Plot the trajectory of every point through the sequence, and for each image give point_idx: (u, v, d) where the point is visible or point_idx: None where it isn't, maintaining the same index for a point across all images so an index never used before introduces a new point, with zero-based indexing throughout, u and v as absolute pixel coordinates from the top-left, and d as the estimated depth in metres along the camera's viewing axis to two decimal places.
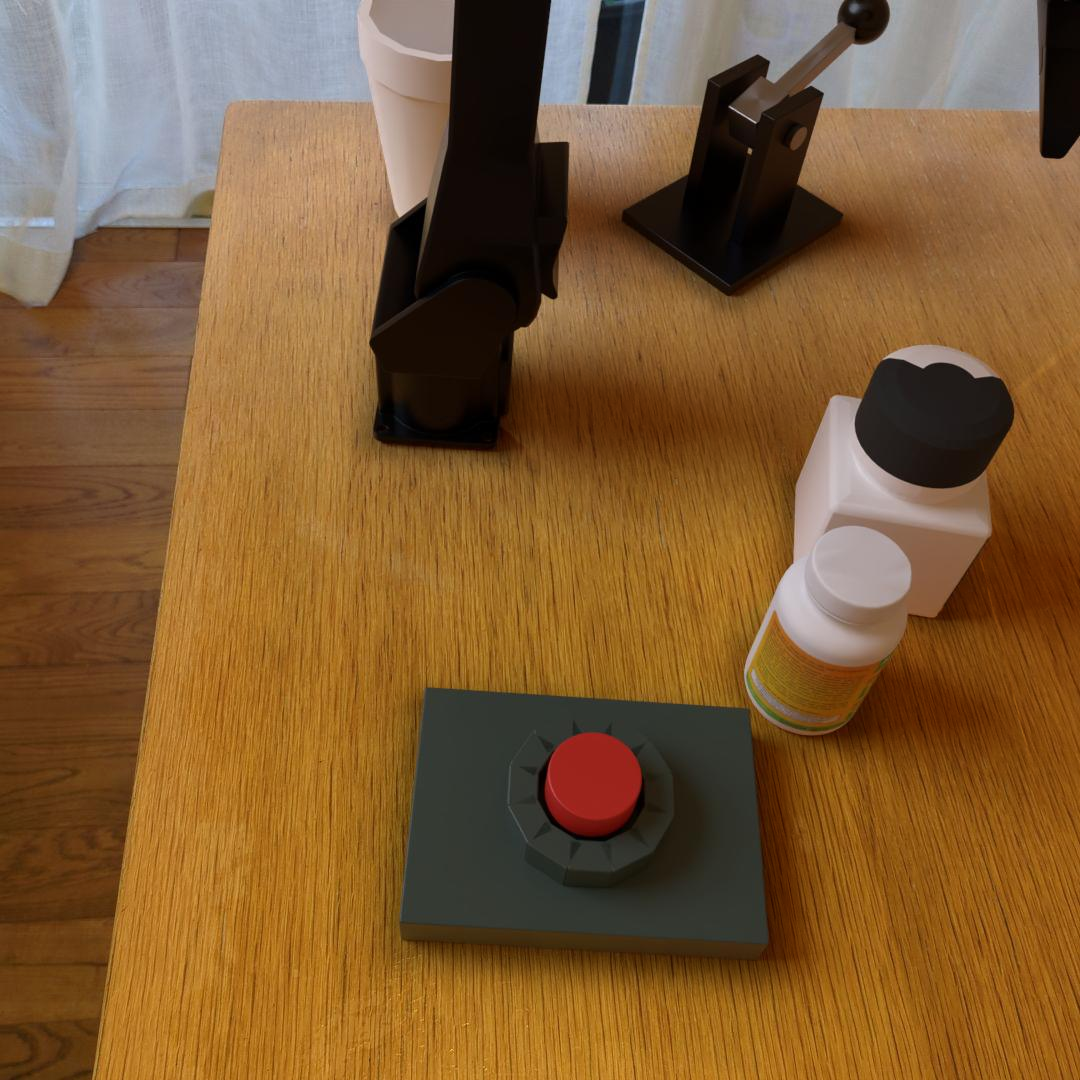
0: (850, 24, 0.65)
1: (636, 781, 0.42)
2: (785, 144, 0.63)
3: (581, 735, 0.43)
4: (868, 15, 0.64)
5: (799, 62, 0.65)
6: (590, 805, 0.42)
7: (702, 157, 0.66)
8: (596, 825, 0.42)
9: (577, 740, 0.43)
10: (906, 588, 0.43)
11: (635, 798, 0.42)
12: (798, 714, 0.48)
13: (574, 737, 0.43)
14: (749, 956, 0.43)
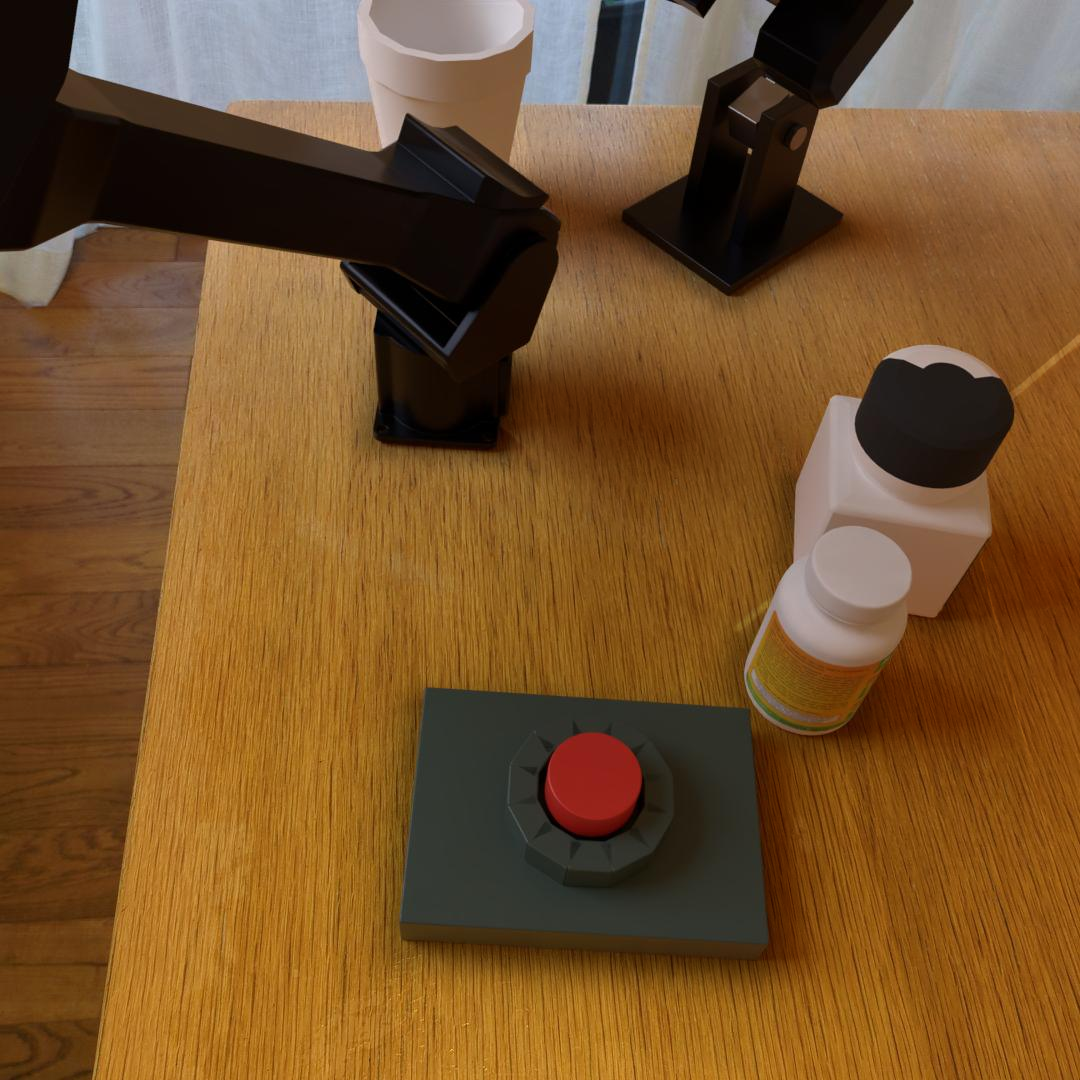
0: None
1: (636, 781, 0.42)
2: (785, 144, 0.63)
3: (581, 735, 0.43)
4: None
5: None
6: (590, 805, 0.42)
7: (702, 157, 0.66)
8: (596, 825, 0.42)
9: (577, 740, 0.43)
10: (906, 588, 0.43)
11: (635, 798, 0.42)
12: (798, 714, 0.48)
13: (574, 737, 0.43)
14: (749, 956, 0.43)
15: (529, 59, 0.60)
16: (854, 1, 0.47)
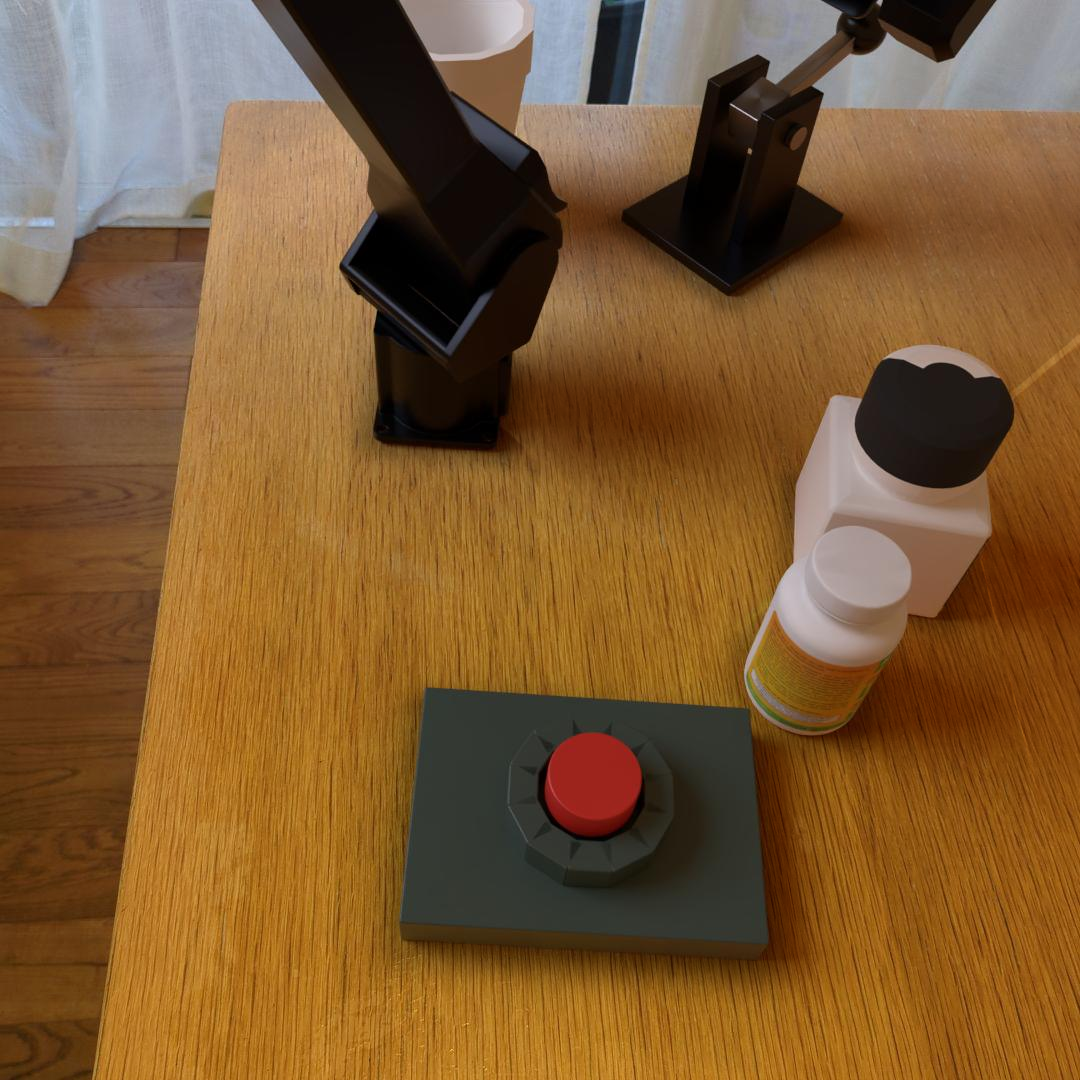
0: (849, 33, 0.66)
1: (636, 781, 0.42)
2: (785, 144, 0.63)
3: (581, 735, 0.43)
4: (868, 24, 0.65)
5: (799, 66, 0.65)
6: (590, 805, 0.42)
7: (702, 157, 0.66)
8: (596, 825, 0.42)
9: (577, 740, 0.43)
10: (906, 588, 0.43)
11: (635, 798, 0.42)
12: (798, 714, 0.48)
13: (574, 737, 0.43)
14: (749, 956, 0.43)
15: (529, 59, 0.60)
16: None
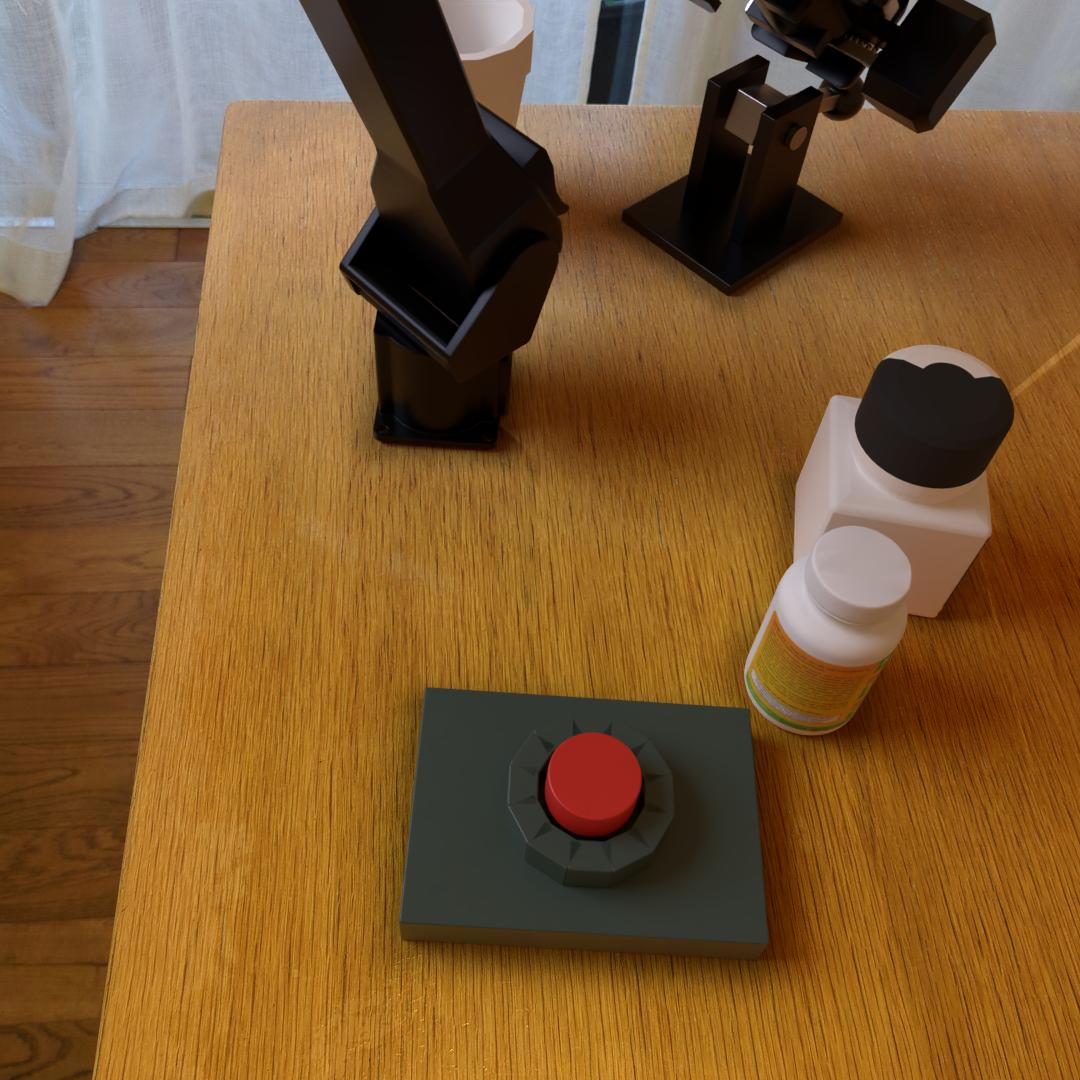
0: (834, 90, 0.69)
1: (636, 781, 0.42)
2: (785, 144, 0.63)
3: (581, 735, 0.43)
4: (853, 86, 0.69)
5: None
6: (590, 805, 0.42)
7: (702, 157, 0.66)
8: (596, 825, 0.42)
9: (577, 740, 0.43)
10: (906, 588, 0.43)
11: (635, 798, 0.42)
12: (798, 714, 0.48)
13: (574, 737, 0.43)
14: (749, 956, 0.43)
15: (529, 59, 0.60)
16: (950, 46, 0.56)
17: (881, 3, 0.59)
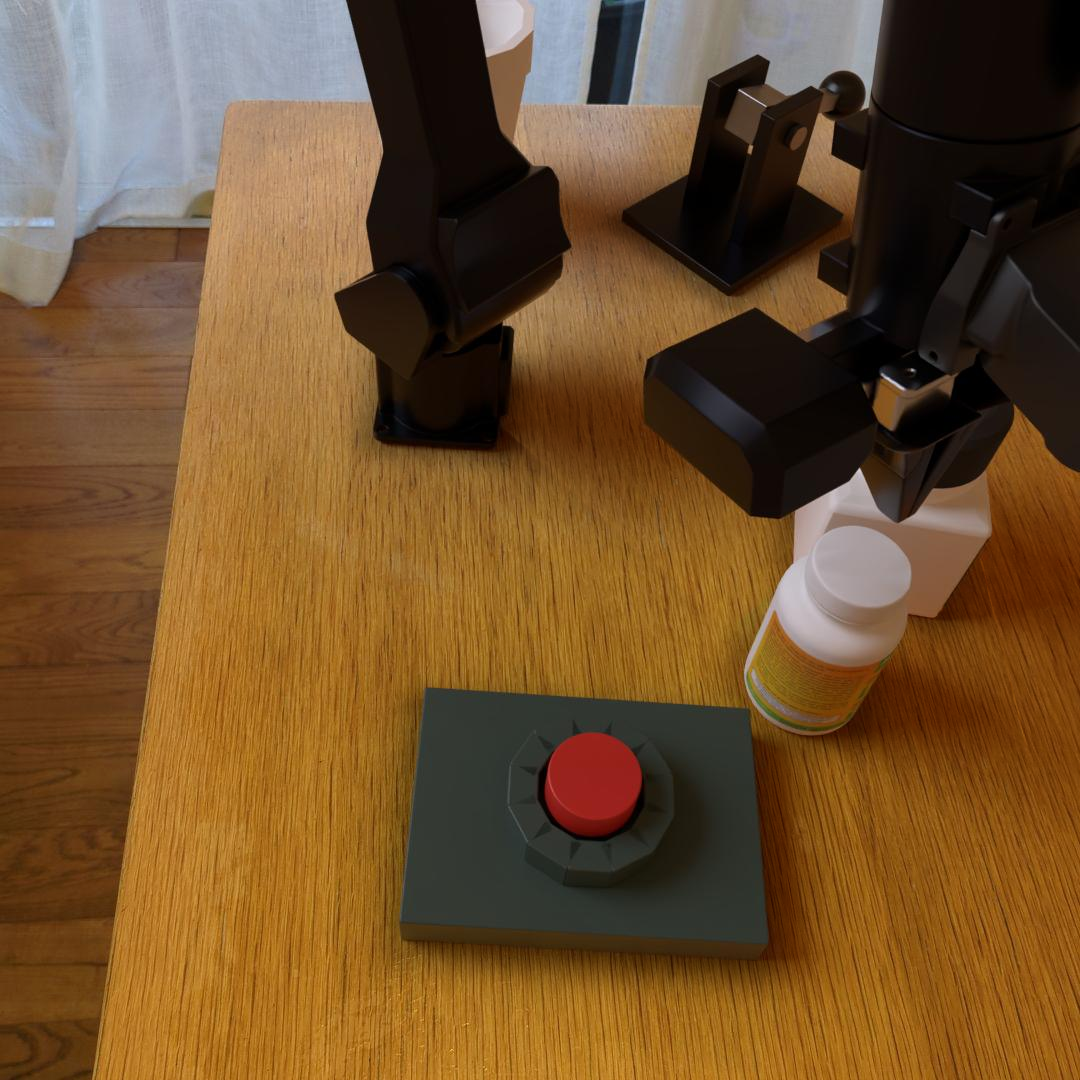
0: (834, 91, 0.69)
1: (636, 781, 0.42)
2: (785, 144, 0.63)
3: (581, 735, 0.43)
4: (853, 87, 0.69)
5: None
6: (590, 805, 0.42)
7: (702, 157, 0.66)
8: (596, 825, 0.42)
9: (577, 740, 0.43)
10: (906, 588, 0.43)
11: (635, 798, 0.42)
12: (798, 714, 0.48)
13: (574, 737, 0.43)
14: (749, 956, 0.43)
15: (529, 59, 0.60)
16: (737, 391, 0.30)
17: (887, 369, 0.33)
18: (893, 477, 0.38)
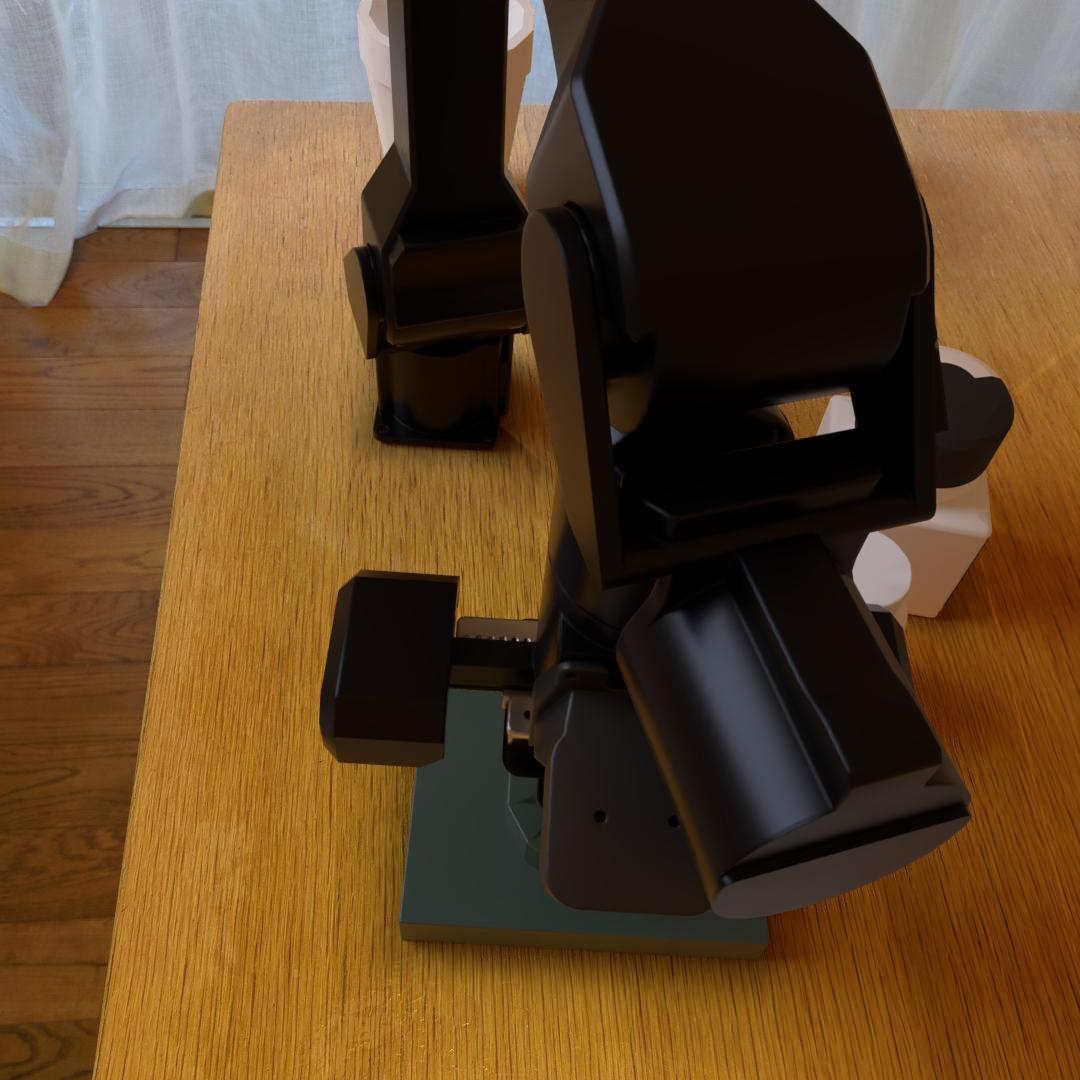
0: None
1: None
2: None
3: None
4: None
5: None
6: None
7: None
8: None
9: None
10: (906, 588, 0.43)
11: None
12: None
13: None
14: (749, 956, 0.43)
15: (529, 59, 0.60)
16: (355, 651, 0.34)
17: (518, 700, 0.35)
18: None
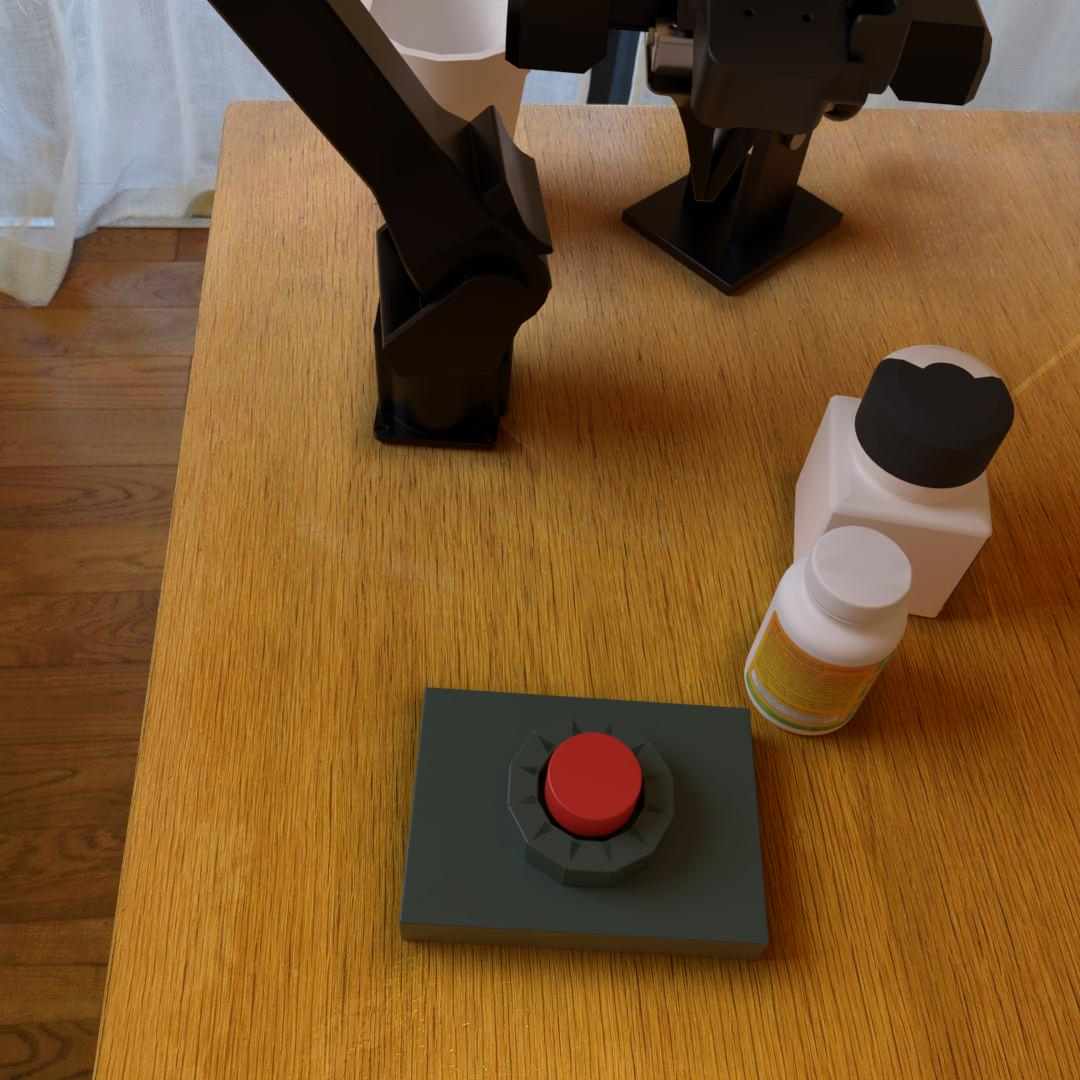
0: None
1: (636, 781, 0.42)
2: (785, 144, 0.63)
3: (581, 735, 0.43)
4: None
5: None
6: (590, 805, 0.42)
7: None
8: (596, 825, 0.42)
9: (577, 740, 0.43)
10: (906, 588, 0.43)
11: (635, 798, 0.42)
12: (798, 714, 0.48)
13: (574, 737, 0.43)
14: (749, 956, 0.43)
15: None
16: None
17: (663, 19, 0.43)
18: None
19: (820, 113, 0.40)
